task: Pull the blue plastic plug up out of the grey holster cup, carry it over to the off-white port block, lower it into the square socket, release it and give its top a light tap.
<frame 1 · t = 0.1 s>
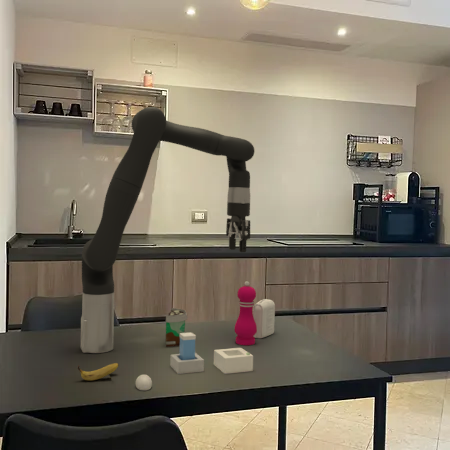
hand: (237, 250, 175), 29 cm above the table, tool pointing down, fingers open, 8 cm apart
port: (232, 371, 142), on the table
pepper mill: (245, 343, 171), on the table
egg: (143, 392, 126), on the table
banana: (97, 380, 133), on the table
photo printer: (263, 336, 181), on the table
plug: (186, 368, 140), point 1 cm above the table, touching holster
holster: (186, 372, 140), on the table
food container: (177, 343, 168), on the table
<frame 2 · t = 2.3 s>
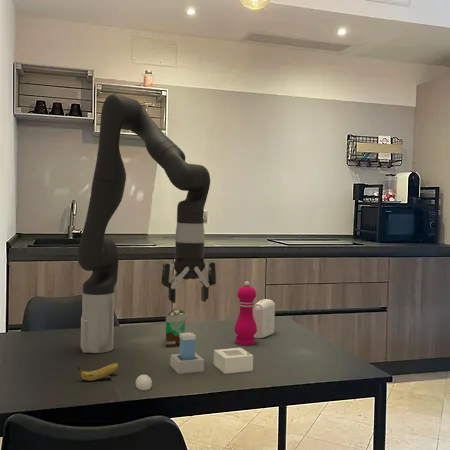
hand: (188, 301, 139), 19 cm above the table, tool pointing down, fingers open, 8 cm apart
nothing on the table moved.
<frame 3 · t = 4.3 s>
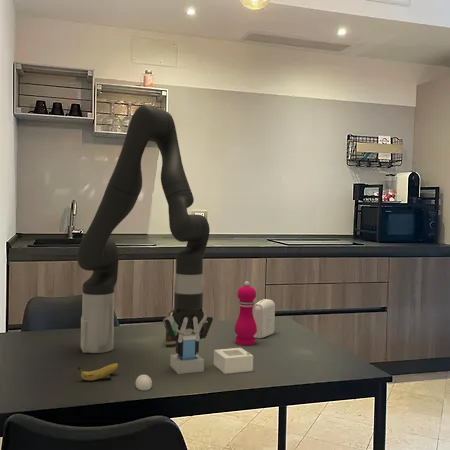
hand: (187, 354, 140), 5 cm above the table, tool pointing down, fingers closed on plug, 3 cm apart
plug: (186, 368, 140), point 1 cm above the table, touching gripper, holster
everything else where it was.
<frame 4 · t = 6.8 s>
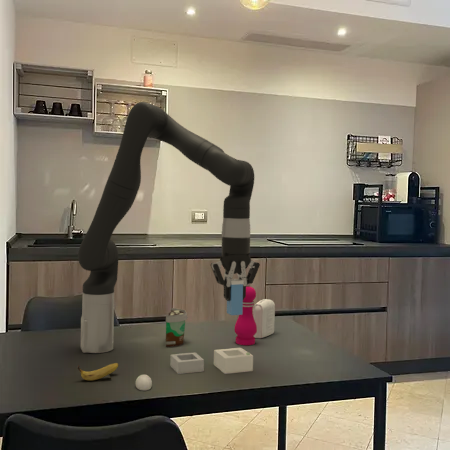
hand: (234, 299, 141), 19 cm above the table, tool pointing down, fingers closed on plug, 3 cm apart
plug: (234, 313, 141), point 16 cm above the table, touching gripper
everything else where it was.
when the fingers open (6 cm above the table, at t = 8.8 s): plug stays where it is, resting on port.
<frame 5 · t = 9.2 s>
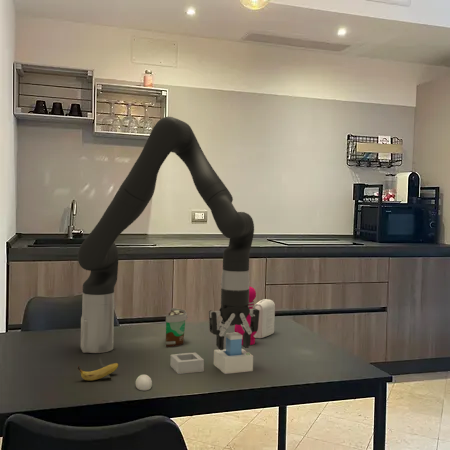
hand: (233, 348, 142), 6 cm above the table, tool pointing down, fingers open, 6 cm apart
plug: (233, 367, 142), point 1 cm above the table, touching port
everything else where it was.
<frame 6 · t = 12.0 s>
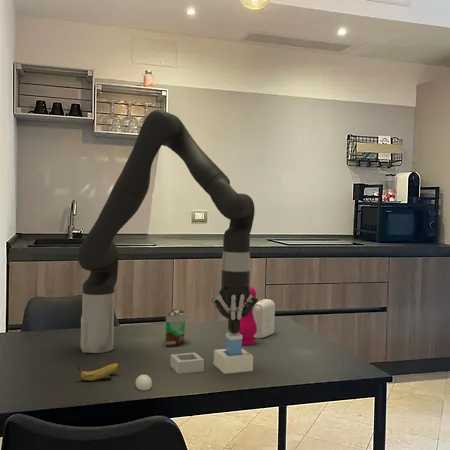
hand: (233, 332, 142), 10 cm above the table, tool pointing down, fingers closed
nothing on the table moved.
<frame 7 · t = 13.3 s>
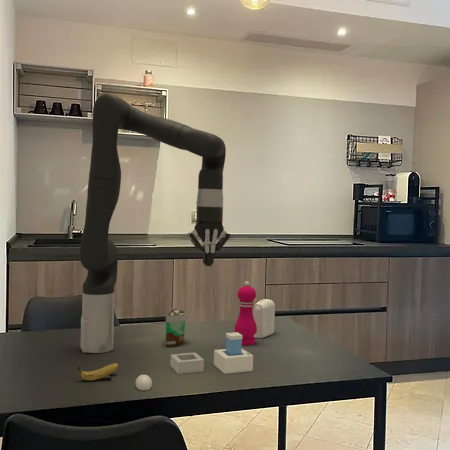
hand: (208, 265, 152), 27 cm above the table, tool pointing down, fingers closed
nothing on the table moved.
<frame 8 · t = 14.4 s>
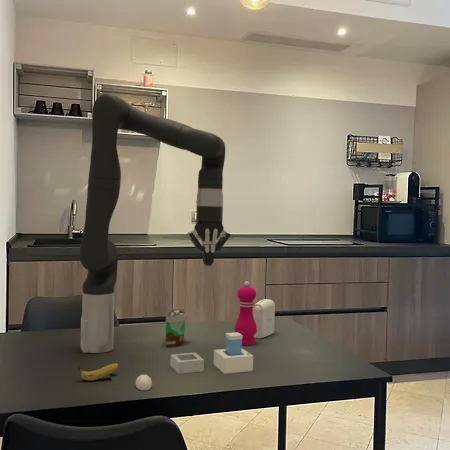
hand: (208, 265, 152), 27 cm above the table, tool pointing down, fingers closed
nothing on the table moved.
at the end: plug 0.2 cm off-centre on the port, point 1.0 cm above the port's base; plug tilted 0°; the gripper is holding nothing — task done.
